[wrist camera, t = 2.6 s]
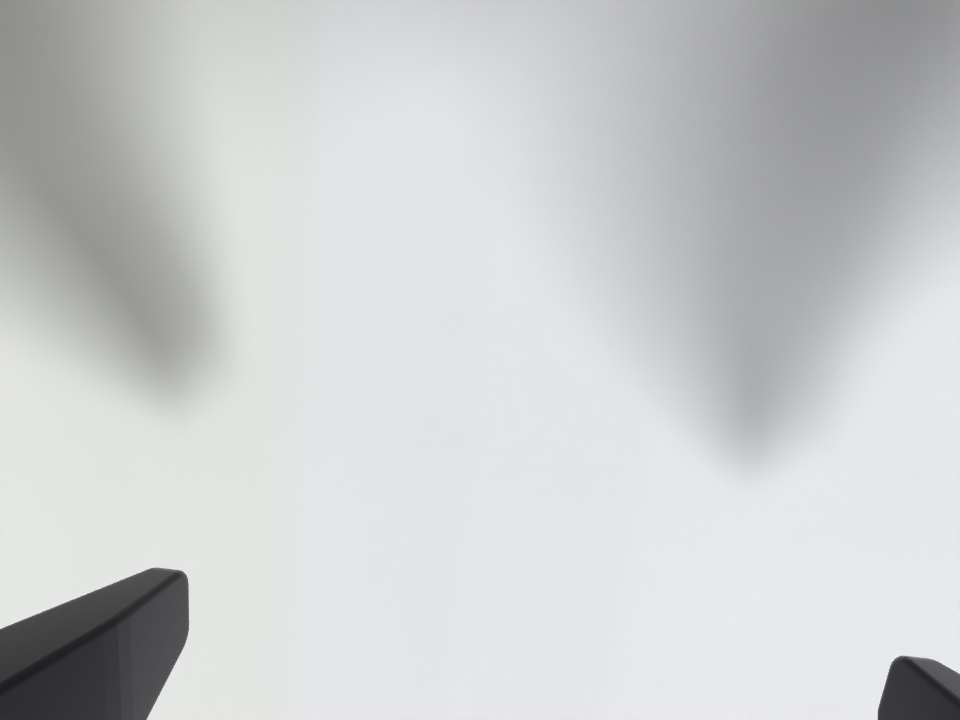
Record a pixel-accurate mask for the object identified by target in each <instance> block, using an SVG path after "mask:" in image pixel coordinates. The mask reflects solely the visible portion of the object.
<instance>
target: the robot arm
mask: <svg viewBox="0 0 960 720" xmlns="http://www.w3.org/2000/svg"><path fill="white" fill-rule="evenodd" d="M188 631H189V589H188V578H187V575H186V574H185V573H184V572H183V571H180V570H172V569H164V568H151V569H148V570H146V571H143V572H141V573H138V574H136V575H133V576H131V577H128V578H126V579H123V580H121V581H118V582H116V583H113V584H111V585H108V586H106V587H104V588H101V589H99V590H96V591H94V592H91V593H89V594H86V595H84V596H81V597H79V598H76V599H74V600H71V601H69V602H66V603H64V604H61V605H59V606H56V607H54V608H51V609H49V610H47V611H44V612H42V613H39V614H37V615H34V616H32V617H29V618H27V619H24V620H22V621H19V622H17V623H14V624H12V625H9V626H7V627H4V628H2V629H0V720H146V719H147V717H148V716H149V714H150V712H151V710H152V708H153V706H154V704H155V702H156V700H157V698H158V696H159V694H160V692H161V690H162V688H163V686H164V685H165V683H166V681H167V679H168V677H169V675H170V673H171V671H172V669H173V667H174V665H175V663H176V661H177V659H178V657H179V655H180V653H181V652H182V650H183V647H184V645H185V643H186V640H187V636H188ZM878 720H960V674H959V673H957V672H955V671H953V670H951V669H950V668H948V667H946V666H944V665H943V664H941V663H939V662H937V661H935V660H932V659H927V658H918V657H909V656H900V657H897V658H895V659H894V661H893V662H892V664H891V666H890V669H889V673H888V676H887V680H886V683H885V687H884V690H883V694H882V698H881V701H880V705H879V708H878Z"/></svg>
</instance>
